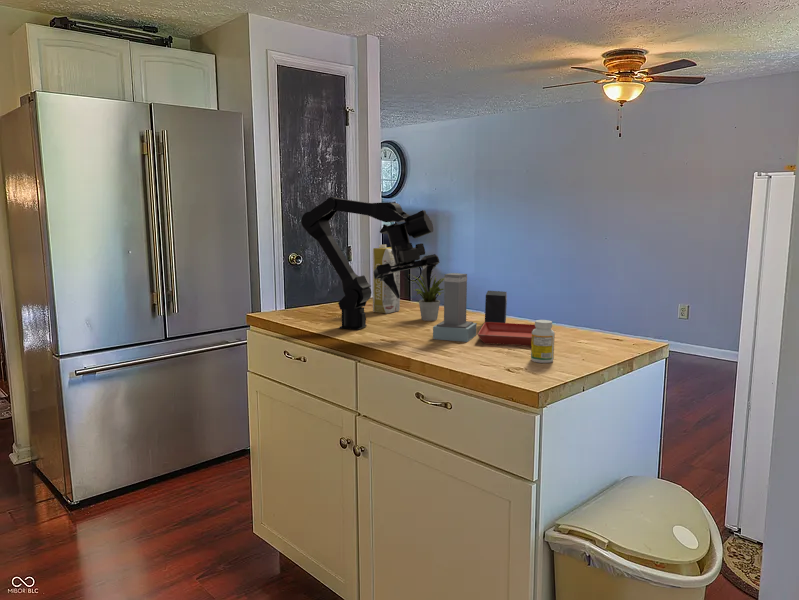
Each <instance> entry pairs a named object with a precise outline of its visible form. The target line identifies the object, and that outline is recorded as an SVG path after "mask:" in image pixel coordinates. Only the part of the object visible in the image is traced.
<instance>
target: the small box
mask: <svg viewBox="0 0 799 600" xmlns="http://www.w3.org/2000/svg"><path fill="white" fill-rule="evenodd" d="M485 293H486V294H485V301H484V302H485V305H484V307H485V308H484V323H485V322H495V323H507V322H506V321H507V308H508V307H507V305H508V298H507V297H508V295H507V294H508V293H507V291H502V290H501V291H500V290H487V292H485Z"/></svg>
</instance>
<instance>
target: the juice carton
mask: <svg viewBox="0 0 799 600" xmlns="http://www.w3.org/2000/svg"><path fill="white" fill-rule="evenodd" d="M391 251H392V249H391V246H389V247H387V244H379V246H378V247H375V248H374V247H373V248H372V312H374V313H380V314H391V313H395V312H399V311H400V306H401V304H400V303H401V275H400V274H401V271H397V272H392V273H393V274H394V280H395V283H396V286H397V289H398V292H399V296H400V298H397V297H396V295H395V294H394V293H393V291H392V290H391V289H390V288H389V286H388V285H387V284H386V283H385V282H384V281H380V279H381V278H379V279H375V277H374V270H375V269H376V267H377V266H378V265H383V264H388V263H389V264H390V266H394V265H395V260H394V256H393V254H392V252H391Z"/></svg>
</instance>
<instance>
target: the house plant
mask: <svg viewBox="0 0 799 600" xmlns="http://www.w3.org/2000/svg"><path fill="white" fill-rule="evenodd" d="M432 273H433V270H432V272H431V279H430V285H431V284H432V285H431V287H430V291H429V292H427V290H426V287H425V283H424V279H423V275H422V274H419V276H420V278H421V279H422V280H421V279H420V278H419V277H416V276H415V275H413V274H411V277H413V278H415V279H416V280H417V281H416V280H414V279H411V281H413V282H415V283H416V285H417V286H418V287H419V288H416V289H414V291H415V293H416V296H418V295H419V296H420V297H421V298H422V299H420V300H418V305H419V312H420V317H421V320H422V321H428V322H431V321H432V322H433V321H434V322H435V321H438V317H439V309H440V305H441V300H439V299H437V298H438V296H441V294H442V293H443V294H444V288H440V285H441V283H442V282H444V277H443V278H440V279H439V280H437V276H435V274H434V275H433V276H432ZM408 276H410V274H408ZM434 276H435V277H434ZM432 280H433V282H432ZM440 291H441V292H440Z"/></svg>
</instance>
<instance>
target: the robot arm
mask: <svg viewBox="0 0 799 600" xmlns="http://www.w3.org/2000/svg"><path fill="white" fill-rule="evenodd" d="M338 212H343V213H350V214H357V215H363V216H368V217H371V218H372V219H375V220H378V221H380V222H384V224H383V225H382V227H381V229H380V230H379V234H383V235H387V236H388V237H387V238H388V241H389V244H390V247H391V249H392V251H391V252H392V254H393V256H394V260H395V265H394V266H390V264H389V263H388V264H383V265H378V266H377V267H376V269H375V270H374V277H375V279H379V278H381V279H380V281H384V282H385V283H386V284H387V285H388V286H389V288H390V289H391V290H392V291H393V293H394V294H395V295H396V297H397V298H400V299H401V295H400V296H399V292H398V289H397V286H396V283H395V280H394V274H393V273H392V272H397V271H400V272H401V271H406V270H410V269H411V270H412V269H417V268H420V267H421V268H422V270H421V276H422V275H423V276H422V277H423V279H424V283H425V285H424V286H425V287H426V290H427V292H429V291H430V288H431V284H430V279H431V278H432V274H431V273H433V272H432V271H433V269H435V268H436V267H437V265H439V263H440V259H439V256H438V255H437V254H435V253H434V254H433V253H432V254H430V255H426V248H425V246H424V245H425V244H424V243H417V244H416V243H415V247H414V246H413V244H412V242H411V240H410V237H412V238H413V239H418V238H420V237H423V236H426V235H428V234H432V233H433V232H434V226H433V222H432V220H431V219H430V217H429V216H428V214H427V211H426V210H423V209H422V210H420V211H418V212H417V213H413V214H411V215H409V214H408V213H407V212H406V211H404V210H403V208H402V206H401V205H400V204H399V203H397V202H388V201H387V202H385V201H383V202H365V201H361V200H360V201H358V200H352V199H351V200H350V199H344V198H340V197H336V196H334V197H333V196H331V197H328V198H327V199H325V200H324V201H322V203H320V204H319V205H317V206H315V207H314V208H312V209H311V210H310V211H306V212H304V214H303V215H302V217H301V221H300V223H301V226H302V228H303V229H304V230H305V232H306V233H307V234H308V235H309V236H310V237H312V238H313V239H314V240H315V241H317V242H318V244H319V246H320V247H321V249H322V250H323V252H324V254H325V256H326V257H327V259H328V261H329V262H330V263H331V266H332V267H333V269H334V270H335V272H336V274H337V275H338V277H339V279H340V281H341V286H342V292H343V294H344V296H343V297H342V298H341V299H340V300H339V301H338V304H337V305H338V307H339V309H340V310H341V325H340V326H339V329H341V330H343V329H344V330H345V329H346V330H360V329H363V328H366V327H367V324H366V321H367V319H366V317H367V315H366V314H367V313H366V312H365V307H366V304H367V301H369V300H370V299H371V297H372V296H371V295H372V289H371V287H372V285H371V284H370V283H369V282H368V279H367V277H366V276H365V275H364V274H363V275H358V274H356V273H355V271H354V270H353V267H352V266H351V265H350V263H349V261H348V259H347V258H346V256H345V255H344V252H343V251H342V250H341V248H340V246H339V245H338V243H337V241H336V239H335V238H334V236H333V235H332V230H331V224H330V222H329V221H331V220H332V219H333V217H334V216H335V215H336V214H337V213H338ZM385 223H392V224H389V225H388V224H385ZM398 223H399V224H398ZM421 256H423V257H422V258H421ZM424 283H423V284H424Z"/></svg>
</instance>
